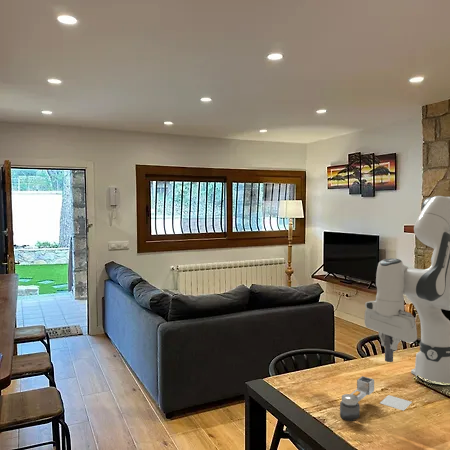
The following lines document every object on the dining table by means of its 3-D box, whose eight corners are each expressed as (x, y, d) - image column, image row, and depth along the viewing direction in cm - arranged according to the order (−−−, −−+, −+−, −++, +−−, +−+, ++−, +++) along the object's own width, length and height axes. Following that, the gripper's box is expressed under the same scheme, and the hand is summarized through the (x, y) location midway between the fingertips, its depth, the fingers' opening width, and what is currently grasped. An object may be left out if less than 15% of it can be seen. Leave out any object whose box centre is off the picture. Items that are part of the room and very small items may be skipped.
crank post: (345, 410, 137) (345, 398, 137) (362, 416, 133) (362, 403, 133) (336, 416, 132) (336, 404, 132) (354, 423, 128) (354, 410, 128)
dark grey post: (386, 358, 141) (386, 329, 141) (394, 360, 140) (394, 331, 139) (383, 360, 140) (383, 331, 139) (391, 362, 138) (391, 333, 137)
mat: (388, 396, 146) (388, 395, 146) (412, 403, 141) (412, 401, 141) (379, 404, 140) (379, 403, 140) (403, 412, 135) (403, 410, 135)
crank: (353, 409, 129) (353, 396, 129) (338, 404, 132) (338, 391, 132) (375, 391, 141) (375, 379, 141) (361, 387, 144) (361, 375, 144)
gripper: (422, 313, 131) (421, 356, 131) (375, 300, 150) (374, 338, 150) (407, 315, 128) (406, 359, 129) (361, 301, 147) (361, 340, 148)
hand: (389, 347), depth 140 cm, fingers closed on dark grey post, 3 cm apart
